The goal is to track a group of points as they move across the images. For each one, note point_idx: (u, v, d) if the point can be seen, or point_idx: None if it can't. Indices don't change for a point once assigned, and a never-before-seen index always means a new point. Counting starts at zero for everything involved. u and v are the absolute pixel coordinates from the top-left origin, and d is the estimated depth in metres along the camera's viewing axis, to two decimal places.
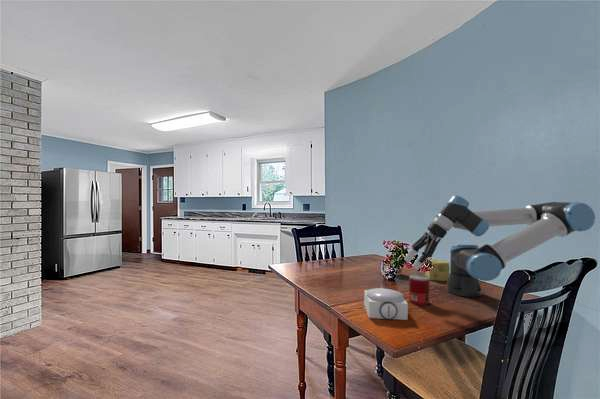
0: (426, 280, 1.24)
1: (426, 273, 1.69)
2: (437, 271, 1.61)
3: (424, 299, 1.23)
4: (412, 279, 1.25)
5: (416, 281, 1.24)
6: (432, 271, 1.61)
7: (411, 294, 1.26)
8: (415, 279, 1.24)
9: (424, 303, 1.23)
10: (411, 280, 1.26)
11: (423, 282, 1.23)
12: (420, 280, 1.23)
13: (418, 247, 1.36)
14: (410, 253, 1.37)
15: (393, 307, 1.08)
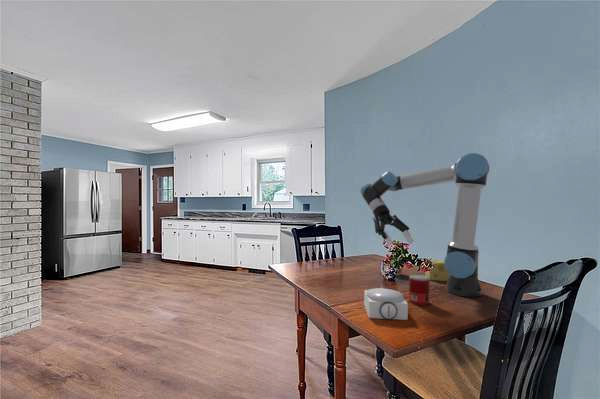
0: (426, 280, 1.24)
1: (426, 273, 1.69)
2: (437, 271, 1.61)
3: (424, 299, 1.23)
4: (412, 279, 1.25)
5: (416, 281, 1.24)
6: (432, 271, 1.61)
7: (411, 294, 1.26)
8: (415, 279, 1.24)
9: (424, 303, 1.23)
10: (411, 280, 1.26)
11: (423, 282, 1.23)
12: (420, 280, 1.23)
13: (401, 228, 1.44)
14: (405, 236, 1.42)
15: (393, 307, 1.08)
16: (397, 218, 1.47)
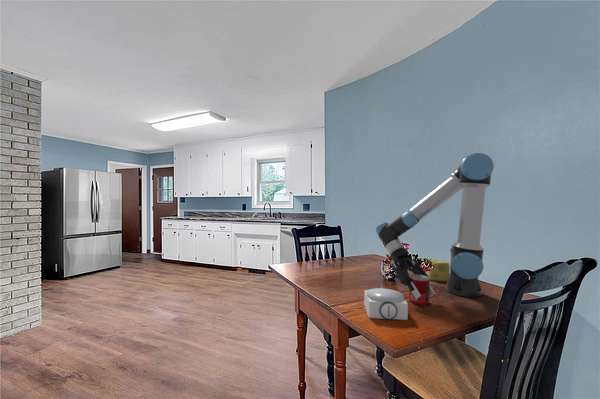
0: (426, 280, 1.24)
1: (426, 273, 1.69)
2: (437, 271, 1.61)
3: (424, 299, 1.23)
4: (412, 279, 1.25)
5: (416, 281, 1.24)
6: (432, 271, 1.61)
7: (411, 294, 1.26)
8: (415, 279, 1.24)
9: (424, 303, 1.23)
10: (411, 280, 1.26)
11: (423, 282, 1.23)
12: (420, 280, 1.23)
13: None
14: None
15: (393, 307, 1.08)
16: (417, 263, 1.35)
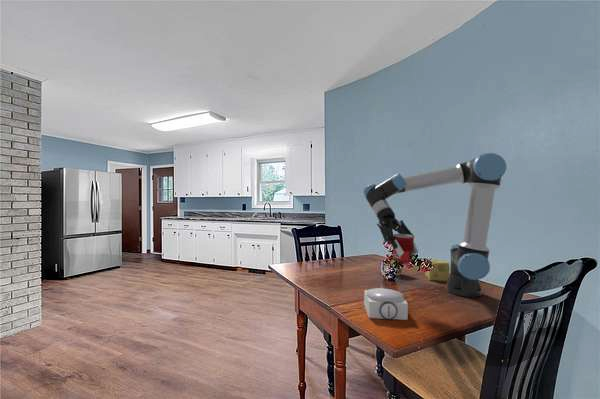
0: (410, 237, 1.21)
1: (426, 273, 1.69)
2: (437, 271, 1.61)
3: (407, 257, 1.21)
4: (396, 237, 1.23)
5: (400, 238, 1.22)
6: (432, 271, 1.61)
7: (395, 252, 1.24)
8: (399, 236, 1.22)
9: (407, 261, 1.21)
10: (395, 238, 1.24)
11: (407, 239, 1.21)
12: (403, 237, 1.21)
13: None
14: None
15: (393, 307, 1.08)
16: (403, 224, 1.32)
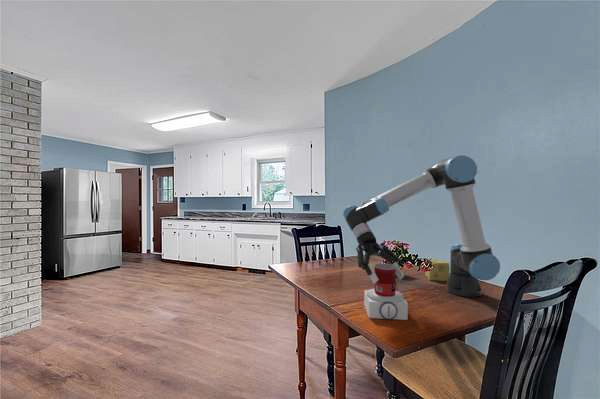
0: (392, 269, 1.12)
1: (426, 273, 1.69)
2: (437, 271, 1.61)
3: (389, 290, 1.12)
4: (377, 268, 1.14)
5: (381, 270, 1.13)
6: (432, 271, 1.61)
7: (376, 285, 1.15)
8: (380, 268, 1.13)
9: (390, 294, 1.12)
10: (376, 269, 1.15)
11: (388, 271, 1.12)
12: (385, 269, 1.12)
13: (389, 259, 1.21)
14: None
15: (393, 307, 1.08)
16: (385, 247, 1.25)
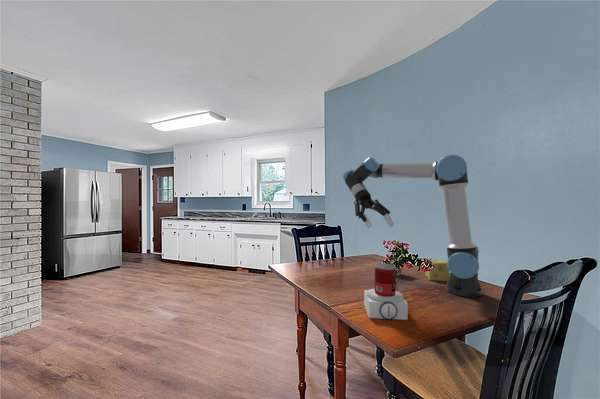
0: (392, 269, 1.12)
1: (426, 273, 1.69)
2: (437, 271, 1.61)
3: (389, 290, 1.12)
4: (377, 268, 1.14)
5: (381, 270, 1.13)
6: (432, 271, 1.61)
7: (376, 285, 1.15)
8: (380, 268, 1.13)
9: (390, 294, 1.12)
10: (376, 269, 1.15)
11: (388, 271, 1.12)
12: (385, 269, 1.12)
13: (381, 212, 1.45)
14: (386, 220, 1.43)
15: (393, 307, 1.08)
16: (378, 202, 1.48)
